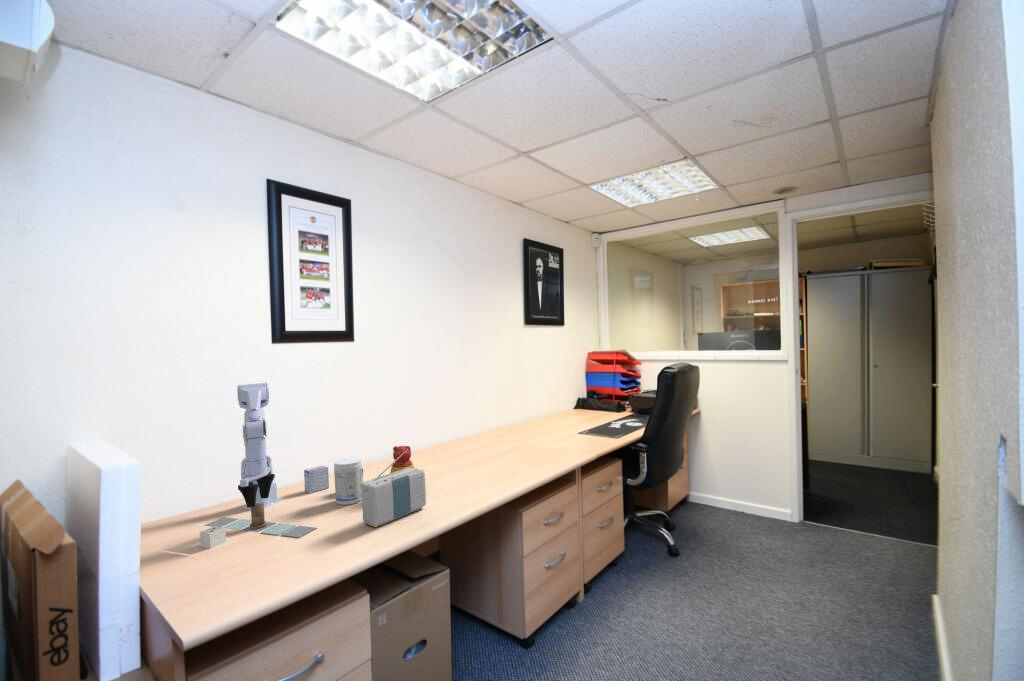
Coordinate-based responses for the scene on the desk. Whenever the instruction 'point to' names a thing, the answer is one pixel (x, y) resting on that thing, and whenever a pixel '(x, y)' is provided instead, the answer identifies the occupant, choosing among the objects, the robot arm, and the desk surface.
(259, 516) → the pawn
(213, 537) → the die
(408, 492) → the stereo radio cassette player
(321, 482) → the medicine box
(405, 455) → the stacking bear
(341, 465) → the supplement tub
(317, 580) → the desk surface
